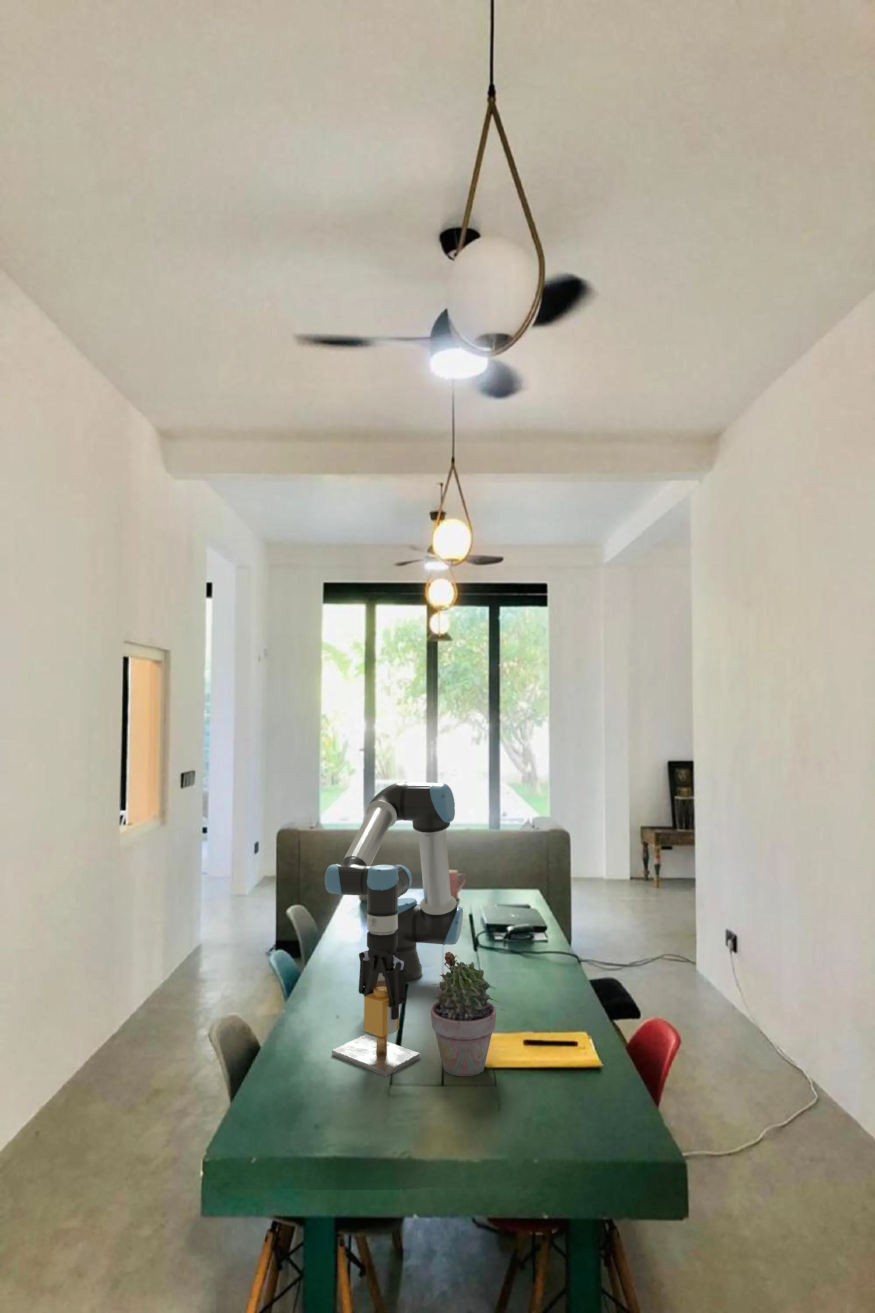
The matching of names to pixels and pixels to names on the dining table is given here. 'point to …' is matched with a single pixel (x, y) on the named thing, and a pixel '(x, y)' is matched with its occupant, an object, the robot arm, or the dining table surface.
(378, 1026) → the orange knobbed block
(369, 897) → the robot arm
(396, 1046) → the plate
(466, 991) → the potted plant
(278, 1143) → the dining table surface
